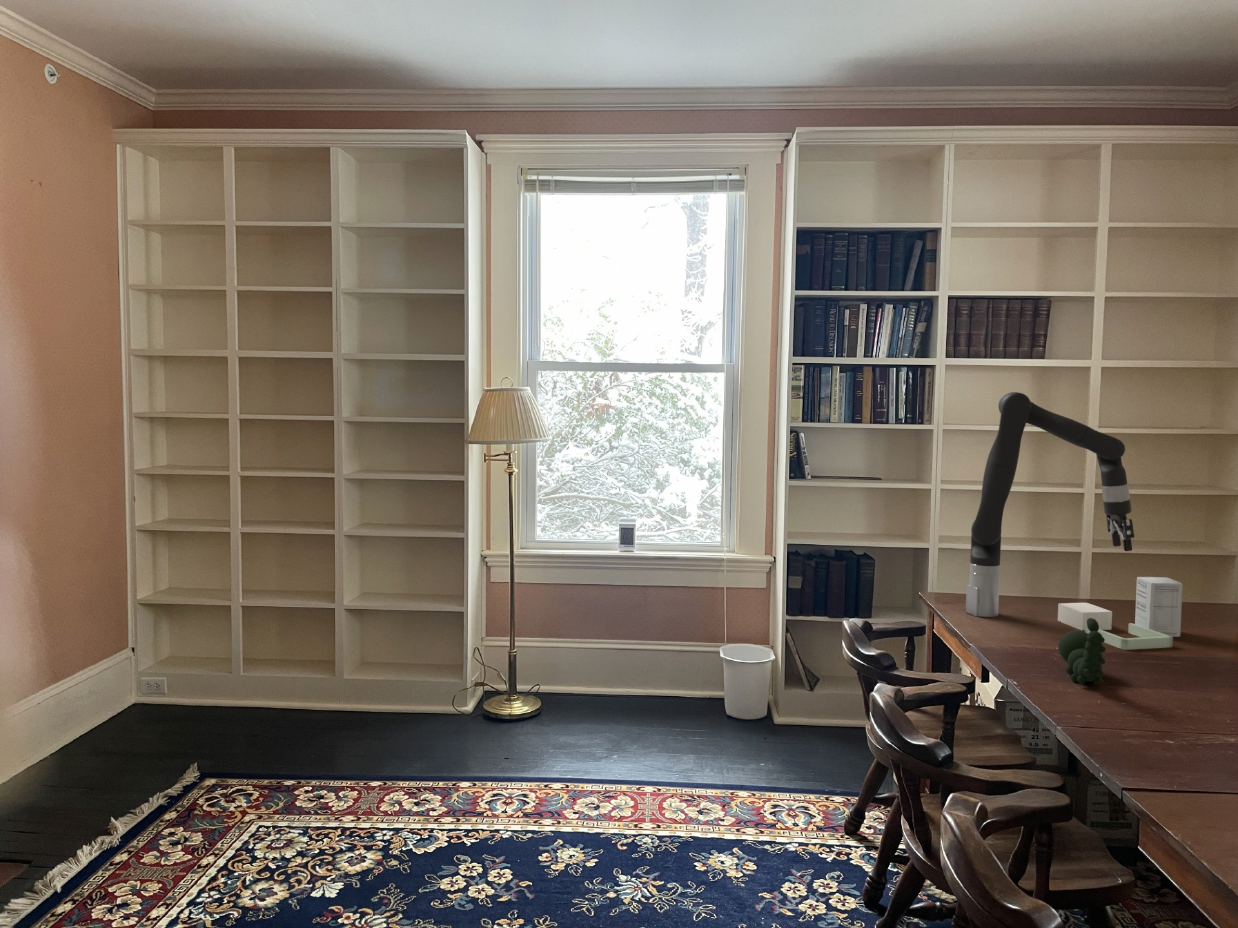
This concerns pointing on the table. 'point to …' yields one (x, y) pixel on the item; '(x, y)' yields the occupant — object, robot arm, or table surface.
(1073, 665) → the toy figurine
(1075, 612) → the carton
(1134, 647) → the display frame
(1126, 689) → the table surface
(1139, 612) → the supplement box
